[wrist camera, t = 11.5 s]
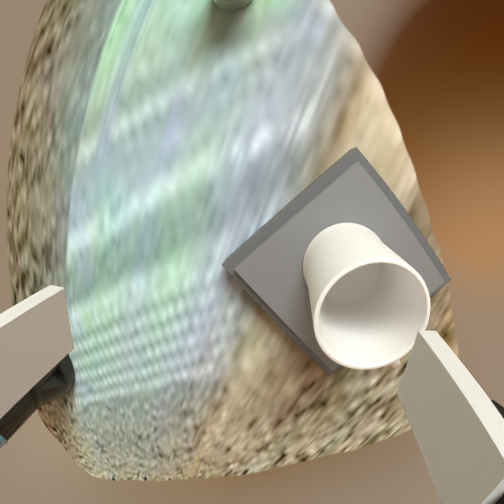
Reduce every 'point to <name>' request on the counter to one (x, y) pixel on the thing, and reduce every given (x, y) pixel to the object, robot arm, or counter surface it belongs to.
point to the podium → (312, 223)
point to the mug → (363, 298)
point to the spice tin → (232, 4)
